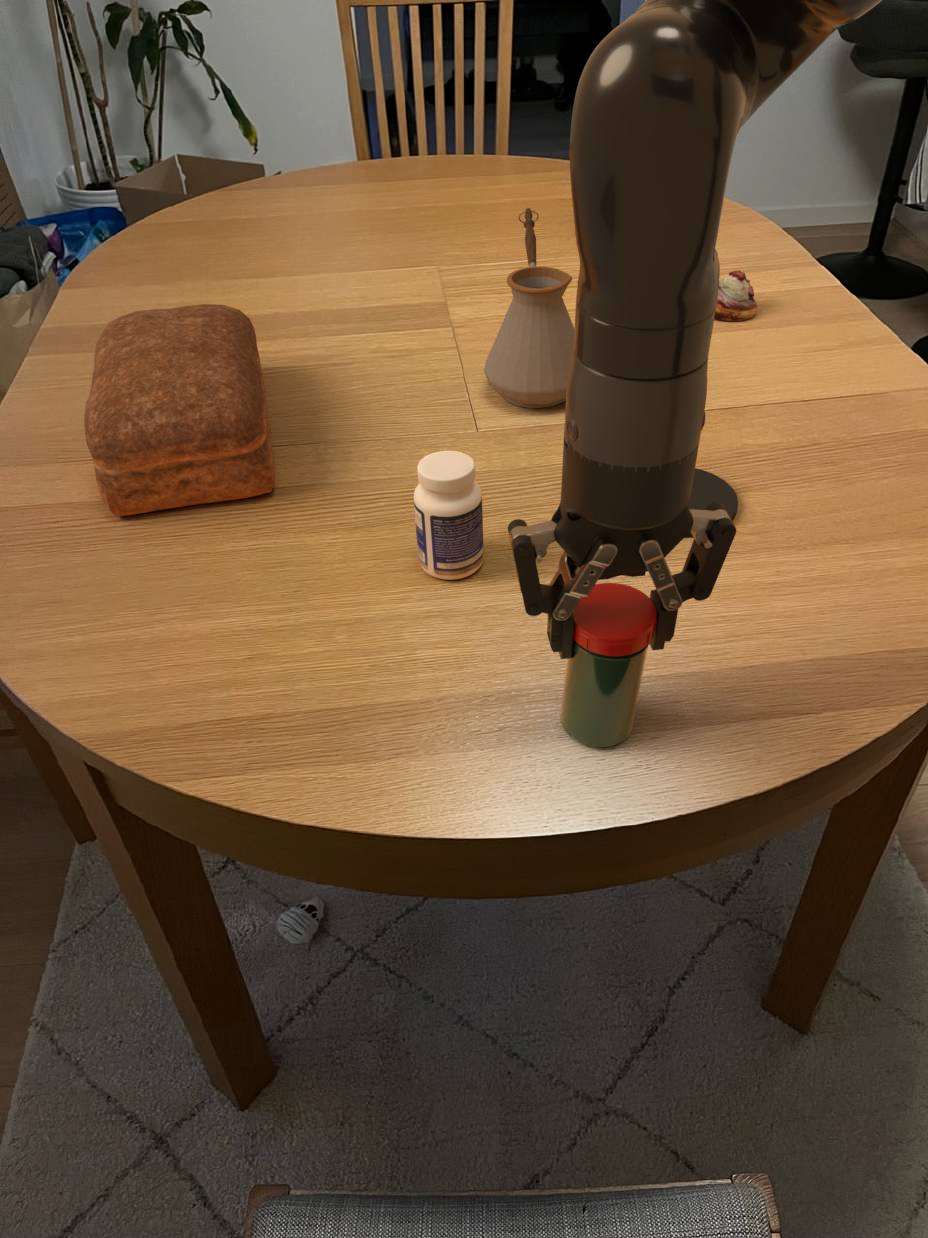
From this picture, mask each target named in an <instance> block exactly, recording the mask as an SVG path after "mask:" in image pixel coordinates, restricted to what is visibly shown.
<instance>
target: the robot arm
mask: <svg viewBox="0 0 928 1238" xmlns="http://www.w3.org/2000/svg"><path fill="white" fill-rule="evenodd" d="M882 1H883V0H644V2H643V3H642V4H641V5H640V6H639V7H638V8H637V10H635V11H634V12H633V13H632V14H631V15H630V16H629V17H627V18H626V19H625V20H624V21H623V22H621V23H620V24H619V25H617V26H616V27H614V28H613V29H612V30H611V31H610V32H609V33H608V34H607V35H605V37H604V38H603V39H602V40H601V41H600V42H599V44H597V46H596V47H595V48H594V50H593V51H592V53H591V54H590V56H589V58H588V59H587V61H586V63H585V65H584V68H583V70H582V72H581V75H580V77H579V79H578V83H577V87H576V91H575V95H574V99H573V106H572V114H571V122H570V136H569V137H570V138H569V175H570V190H571V201H572V202H571V203H572V211H573V222H574V223H573V224H574V233H575V239H576V240H575V241H576V247H577V251H578V258H579V273H578V278H577V287H576V297H575V298H576V299H575V312H574V314H575V315H574V329H575V330H574V349H573V358H572V363H571V368H570V372H569V378H568V383H567V392H566V400H565V410H564V411H565V412H564V430H563V446H562V447H563V448H562V449H563V450H562V467H561V468H562V470H561V486H560V487H561V488H560V500H559V504H558V507H557V509H556V510H555V511H554V513H553V515H552V517H551V520H548V521H544V522H538V523H533V524H529V525H528V523H527V522H526V520H524V519H520V518H517V519H513V520H512V521H510V522H509V524H508V525H507V531H508V536H509V541H510V547H511V552H512V556H513V560H514V565H515V570H516V575H517V580H518V584H519V590H520V593H521V597H522V602H523V605H524V610H525V613H526V614H527V615H528V616H530V617H537V616H540V615H542V614H546V615H547V624H546V635H547V639H548V643H549V646H550V647H549V648H550V649H551V651H552V652H553V653H558V655H559V658H560V660H567V659H568V658H572V648H573V634H574V621H575V620H574V616H573V612H574V610H575V608H576V607H577V605H578V603H579V602H580V600H581V599H582V598H583V597H584V598H586V597H587V596H588V595H589V594H590V592H591V590H592V589H593V587H594V586H595V584H597V582H598V581H601V580H603V581H604V580H610V579H613V578H616V577H620V576H622V577H632V578H634V577H637V578H638V577H646V574H647V573H648V574H649V576H650V578H651V581H652V583H653V585H654V587H655V589H651V590H650V593H649V598H650V599H651V600H652V602H653V604H654V606H655V609H656V612H657V616H656V620H657V625H656V631H654V635H653V638H652V640H651V641H650V643H649V646H650V648H651V650H652V651H661V650H664V649H665V644H666V642H667V643H668V642H671V641H672V639H673V638H674V636H675V632H676V625H677V619H678V613H679V609H680V608H681V607H682V606H683V603H685V602H686V601H689V600H692V599H693V600H695V601H698V602H701V601H705V600H707V599H709V597H711V596H712V592H713V590H714V588H715V585H716V583H717V580H718V578H719V575H720V573H721V571H722V568H723V566H724V564H725V561H726V558H727V556H728V554H729V551H730V549H731V547H732V545H733V541H734V539H735V537H736V534H737V528H736V525H735V524H734V522H733V520H731V519H730V517H729V515H728V513H727V511H726V510H725V508H724V506H723V504H721V503H719V502H714V503H711V504H710V505H708V506H707V507H706V509H705V510H695V509H689V507H688V503H689V501H690V496H691V490H692V484H693V478H694V472H695V468H696V466H697V459H698V453H699V447H700V441H701V436H702V431H703V429H704V427H705V423H706V405H707V404H706V403H707V395H708V364H709V355H710V349H711V342H712V335H713V330H714V329H713V328H714V323H715V318H714V317H715V311H716V305H717V299H718V290H719V281H720V271H721V269H720V268H721V267H720V265H721V264H720V259H719V254H718V251H717V249H716V246H717V239H718V235H719V234H718V233H719V230H720V229H719V228H720V223H721V217H722V212H723V205H724V199H725V193H726V187H727V181H728V177H729V172H730V167H731V163H732V157H733V153H734V149H735V145H736V141H737V136H738V134H739V133H740V130H741V128H742V127H743V126H744V125H745V124H746V123H747V122H748V120H749V119H750V118H751V117H752V116H753V115H754V114H755V113H756V112H757V111H758V109H760V107H761V106H762V105H763V104H764V103H765V102H766V101H767V100H768V99H769V98H770V97H771V96H772V95H773V94H774V93H775V91H777V90H778V88H780V86H782V85H783V84H784V82H786V81H787V80H788V78H790V77H791V76H792V75H793V74H794V73H795V72H796V71H797V70H798V69H799V68H800V67H801V66H802V65H803V64H804V63H805V61H807V60H808V59H809V58H810V57H811V56H812V55H813V54H814V53H815V51H817V50H818V49H819V48H820V47H821V45H823V44H824V43H825V41H826V40H828V39H829V38H830V37H831V36H832V35H833V34H834V33H835V32H836V31H837V30H838V29H840V28H841V27H843V26H845V25H847V24H850V23H852V22H855V21H857V20H858V19H859V18H861V17H863V16H864V15H866V13H868V12H870V11H871V10H872V9H873V8H875V7H876V6H877V5H879V4H880V3H881V2H882ZM690 530H691V533H692V535H693V537H692V538H693V541H692V544H691V547H690V548H689V551H688V554H687V557H686V559H685V562H684V565H683V568H682V569H681V571H680V572H678V573H675V574H672V573H671V570H670V567H669V565H668V563H667V561H666V557H667V556H668V555H669V554H670V553H671V552H672V551H673V550H674V549H675V548H676V547H677V546H678V545H679V544H680V543H681V542H682V541H683V540H684V539H685V538H686V537H685V536H686V535H687V534H688V533H689V532H690ZM555 542H556V543H557V544H558V546H559V547H560V548H561V549H562V550H563V551H564V552H563V553H562V555H561V557H560V559H559V562H558V569H557V570H556V572H555V574H554V575H553V577H552V579H551V581H550V582H549V584H545V583H541V581H540V577H539V571H538V566H537V564H540V563H542V562H543V561H544V558H545V557H546V556H547V552H548V547H549V546H550V545H551V544H552V543H555Z"/></svg>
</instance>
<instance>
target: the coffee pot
mask: <svg viewBox="0 0 928 1238" xmlns="http://www.w3.org/2000/svg"><path fill="white" fill-rule="evenodd" d="M533 213H534V214H536V219H534V220H533ZM523 214H524V220H525V221H523V220H522V219H521V215H523ZM539 217H540V216H539V213H538V212H537V211H535V210H532V209H531V208H530V207H527V208H525V210H523V211H522V212H520V213H519V215H518V220H519V222H521V224H523V227H524V228H525V234H524V245H525V250H526V257H527V264H528V265H527V267H523V268H522V267H521V268H518V269H516V270H514V271H512V272H510V273H509V275H507V277H506V283H507V285H508V288H510V289H511V293H512V299H511V301H510V303H509V306H508V308H507V311H506V313H505V316H504V318H503V320H502V322H501V325H500V327H499V329H498V332H497V334H496V336H495V339H494V341H493V344H492V346H491V348H490V351H489V353H488V355H487V358H486V360H485V363H484V367H483V371H484V375H485V378H486V380H487V382H488V384H489V386H490V387H491V388H492V389H493V390H494V391H495V392H496V393H498V395H500V396H502V397H503V399H505V400H506V401H507V402H508V403H511V404H512V405H515V406H518V407H522V408H527V409H529V408H530V409H542V408H549V407H550V408H551V407H553V406H557V405H559V404H562V403H563V402H565V401H566V392H567V383H568V378H569V372H570V368H571V363H572V358H573V349H574V330H575V325H574V324H573V321H572V318H571V316H570V314H569V311H568V309H567V306H566V304H565V301H564V299H563V297H564V294H565V292H566V290H567V288H568V286H569V285H570V284H571V282H572V280H573V276H572V275H570V274H569V273H567V272H565V271H564V270H561V269H559V268H555V267H551V266H537V237H536V234H535V229H534V228H535V225H536V222H537V221H538V220H539Z"/></svg>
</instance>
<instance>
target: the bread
mask: <svg viewBox="0 0 928 1238" xmlns="http://www.w3.org/2000/svg"><path fill="white" fill-rule="evenodd" d="M259 353H260V352H259V349H258V342H257V334H256V330H255V326H254V325H253V322H252V321H251V319H250V318H249V317H248V316H247V315H246V314H245V313H244V312H243V311H242V310H240V309H239V308H235V307H231V306H228V305H225V304H214V303H213V304H212V303H201V304H190V305H182V306H178V307H172V308H153V309H144V310H136V311H133V312H130V313H127V314H124V315H120V316H118V317H117V318H115V319H113V320H111V321H109V322H108V323H107V324H106V325H105V327H104V328H103V331H102V333H101V334H100V337H99V338H98V341H97V342H96V345H95V349H94V354H93V355H94V356H93V357H94V358H93V366H94V367H93V372H92V377H91V379H92V380H91V385H90V389H89V390H90V391H89V395H88V397H87V399H86V402H85V408H84V409H85V410H84V419H83V420H84V424H83V426H84V436H85V442H86V446H87V448H88V450H89V453H90V455H91V457H92V459H93V464H94V472H95V480H96V484H97V489H98V492H99V495H100V498H101V501H102V505H103V506H105V508H106V509H108V510H109V511H110V512H111V513H112V514H113V515H114V516H115V517H116V518H118V517H124V516H133V515H139V514H144V513H151V512H157V511H163V510H169V509H174V508H182V507H186V506H188V507H189V506H193V505H202V504H211V503H219V502H220V503H221V502H227V501H234V500H235V501H236V500H241V499H247V498H248V499H249V498H252V497H257V496H261V495H264V494H268V493H271V492H272V491H273V488H274V481H275V469H274V448H273V443H272V431H271V427H270V424H269V420H268V413H267V405H266V404H267V402H266V395H265V385H264V378H263V377H264V375H263V369H262V364H261V357H260V354H259Z"/></svg>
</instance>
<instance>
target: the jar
mask: <svg viewBox="0 0 928 1238" xmlns="http://www.w3.org/2000/svg"><path fill="white" fill-rule="evenodd" d="M648 649H649V645H647V646H646V647H645V648H643V649H642V650H640V651H638V652H636V653H633V654H629V655H625V656H605V655H600V654H596V653H593V652H591V651H589V650H586V649H585V648H583V647H582V646H580V645H579V644H578V643H577V642H576V641H575V640H574V639H573V648H572V658H568V659H566V664H565V665H566V667H565V675H564V682H563V689H562V690H563V691H562V698H561V706H560V713H559V714H560V715H559V721H560V725H561V726H562V729H563V731H564V732H565V733H566V734H567V735H568V736H569V737H571V738H572V739H573V740H574V741H577V742H579V743H580V744H583V745H587V746H591V747H595V748H596V747H597V748H604V747H612V746H615V745H618V744H621V743H622V742H624V741H625V740H626V739H627V738H628V737H629V736H630V734H631V733H632V730H633V726H634V723H635V722H634V721H635V716H636V710H637V706H638V701H639V695H640V691H641V684H642V681H643V675H644V669H645V666H646V665H645V664H646V660H647V654H648Z"/></svg>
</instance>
